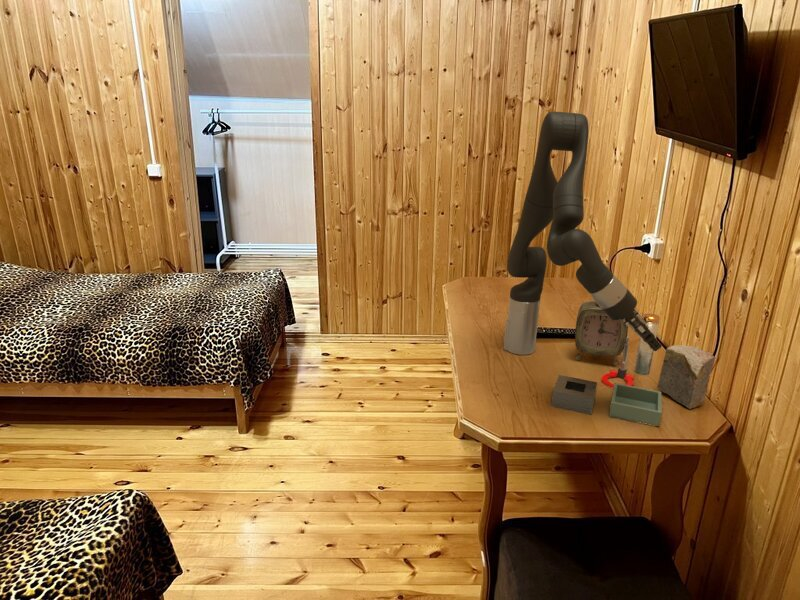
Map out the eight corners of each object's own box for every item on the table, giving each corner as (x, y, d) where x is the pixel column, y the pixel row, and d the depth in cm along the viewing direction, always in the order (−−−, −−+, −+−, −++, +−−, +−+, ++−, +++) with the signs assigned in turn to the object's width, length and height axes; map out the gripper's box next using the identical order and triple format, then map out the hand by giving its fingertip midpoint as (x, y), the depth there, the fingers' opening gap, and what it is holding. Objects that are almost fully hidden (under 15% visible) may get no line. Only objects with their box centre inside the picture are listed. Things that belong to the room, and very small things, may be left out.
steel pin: (633, 373, 143) (643, 317, 138) (634, 367, 146) (644, 312, 141) (649, 376, 141) (660, 319, 136) (649, 370, 144) (659, 314, 139)
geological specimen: (655, 392, 157) (665, 342, 152) (671, 388, 160) (681, 338, 155) (688, 410, 148) (699, 358, 143) (704, 406, 150) (716, 354, 145)
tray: (608, 416, 145) (611, 402, 143) (612, 395, 155) (614, 382, 153) (658, 427, 140) (661, 413, 139) (658, 405, 150) (661, 391, 149)
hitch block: (551, 406, 149) (552, 390, 147) (557, 389, 157) (558, 374, 156) (591, 415, 145) (593, 399, 143) (594, 397, 154) (597, 382, 152)
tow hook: (627, 394, 157) (637, 380, 163) (634, 352, 152) (644, 339, 159) (597, 385, 161) (607, 372, 168) (602, 344, 156) (613, 332, 163)
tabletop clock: (571, 361, 174) (581, 283, 166) (572, 349, 182) (582, 274, 174) (621, 369, 170) (635, 289, 161) (620, 356, 178) (633, 280, 170)
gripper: (635, 296, 130) (679, 347, 133) (616, 277, 143) (657, 324, 147) (608, 316, 132) (652, 367, 135) (591, 296, 145) (632, 342, 149)
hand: (654, 344), depth 141 cm, fingers closed on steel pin, 3 cm apart
